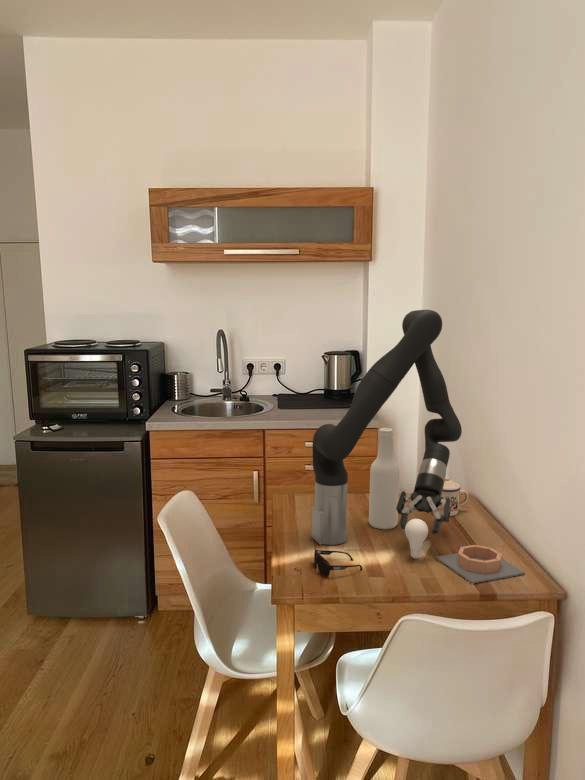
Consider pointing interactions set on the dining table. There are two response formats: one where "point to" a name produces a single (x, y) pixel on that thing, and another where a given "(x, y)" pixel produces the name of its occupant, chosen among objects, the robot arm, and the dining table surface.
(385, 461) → the alcohol
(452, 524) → the dining table surface
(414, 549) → the lightbulb
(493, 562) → the ring holder
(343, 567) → the sunglasses
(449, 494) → the teacup with lid
